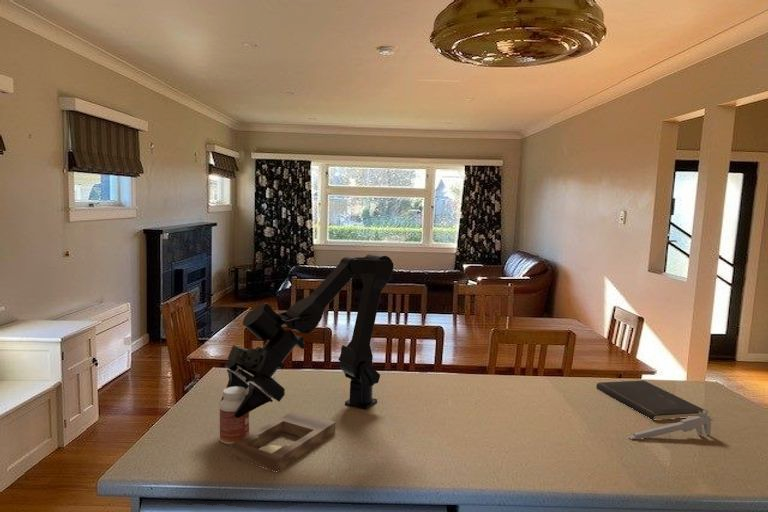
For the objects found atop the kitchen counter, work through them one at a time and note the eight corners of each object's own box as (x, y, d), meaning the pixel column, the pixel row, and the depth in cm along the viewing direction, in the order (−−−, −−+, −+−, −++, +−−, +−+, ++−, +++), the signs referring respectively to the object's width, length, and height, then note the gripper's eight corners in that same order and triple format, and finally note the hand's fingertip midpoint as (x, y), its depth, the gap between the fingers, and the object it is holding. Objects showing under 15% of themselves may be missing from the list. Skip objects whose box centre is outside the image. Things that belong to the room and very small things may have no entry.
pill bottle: (251, 442, 106) (251, 392, 105) (221, 447, 104) (221, 396, 103) (246, 430, 112) (246, 383, 111) (218, 435, 109) (217, 386, 108)
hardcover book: (643, 387, 149) (643, 380, 148) (707, 419, 126) (707, 411, 126) (595, 390, 145) (596, 382, 145) (652, 423, 123) (653, 414, 123)
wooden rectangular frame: (293, 420, 118) (293, 410, 117) (335, 432, 112) (335, 422, 112) (230, 456, 100) (230, 444, 100) (276, 472, 94) (276, 460, 94)
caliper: (706, 435, 116) (708, 409, 116) (710, 437, 115) (712, 411, 115) (627, 439, 113) (629, 412, 113) (630, 441, 112) (632, 414, 112)
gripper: (232, 323, 115) (185, 379, 109) (272, 340, 101) (220, 405, 95) (263, 350, 121) (220, 405, 115) (304, 370, 107) (257, 433, 101)
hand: (228, 411), depth 106 cm, fingers open, 7 cm apart
